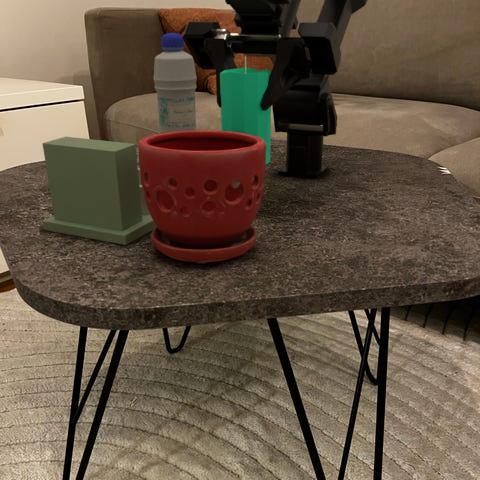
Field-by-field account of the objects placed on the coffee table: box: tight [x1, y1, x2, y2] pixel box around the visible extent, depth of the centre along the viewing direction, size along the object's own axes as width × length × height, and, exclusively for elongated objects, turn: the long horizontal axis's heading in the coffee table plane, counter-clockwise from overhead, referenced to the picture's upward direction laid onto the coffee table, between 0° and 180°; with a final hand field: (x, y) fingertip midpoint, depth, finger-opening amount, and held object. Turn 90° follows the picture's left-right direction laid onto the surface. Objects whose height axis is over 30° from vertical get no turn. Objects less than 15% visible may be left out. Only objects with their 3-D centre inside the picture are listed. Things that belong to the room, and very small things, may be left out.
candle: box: [220, 56, 272, 165], centre depth 71 cm, size 6×6×12 cm
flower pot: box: [138, 130, 266, 265], centre depth 63 cm, size 13×13×12 cm
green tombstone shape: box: [42, 136, 157, 246], centre depth 74 cm, size 18×12×10 cm, turn 154°
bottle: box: [153, 32, 198, 134], centre depth 94 cm, size 7×7×20 cm
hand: (240, 106), depth 69 cm, fingers closed on candle, 5 cm apart
